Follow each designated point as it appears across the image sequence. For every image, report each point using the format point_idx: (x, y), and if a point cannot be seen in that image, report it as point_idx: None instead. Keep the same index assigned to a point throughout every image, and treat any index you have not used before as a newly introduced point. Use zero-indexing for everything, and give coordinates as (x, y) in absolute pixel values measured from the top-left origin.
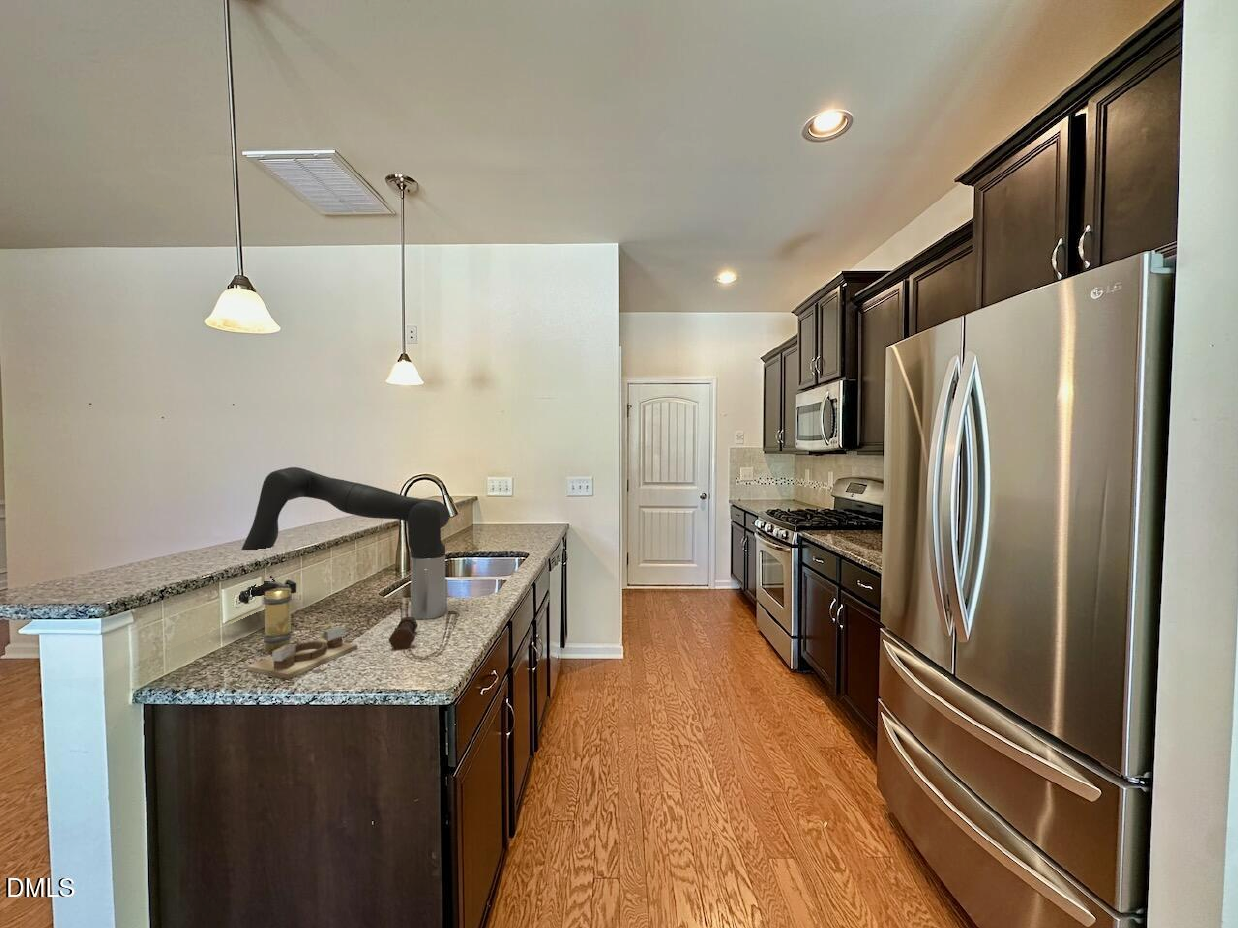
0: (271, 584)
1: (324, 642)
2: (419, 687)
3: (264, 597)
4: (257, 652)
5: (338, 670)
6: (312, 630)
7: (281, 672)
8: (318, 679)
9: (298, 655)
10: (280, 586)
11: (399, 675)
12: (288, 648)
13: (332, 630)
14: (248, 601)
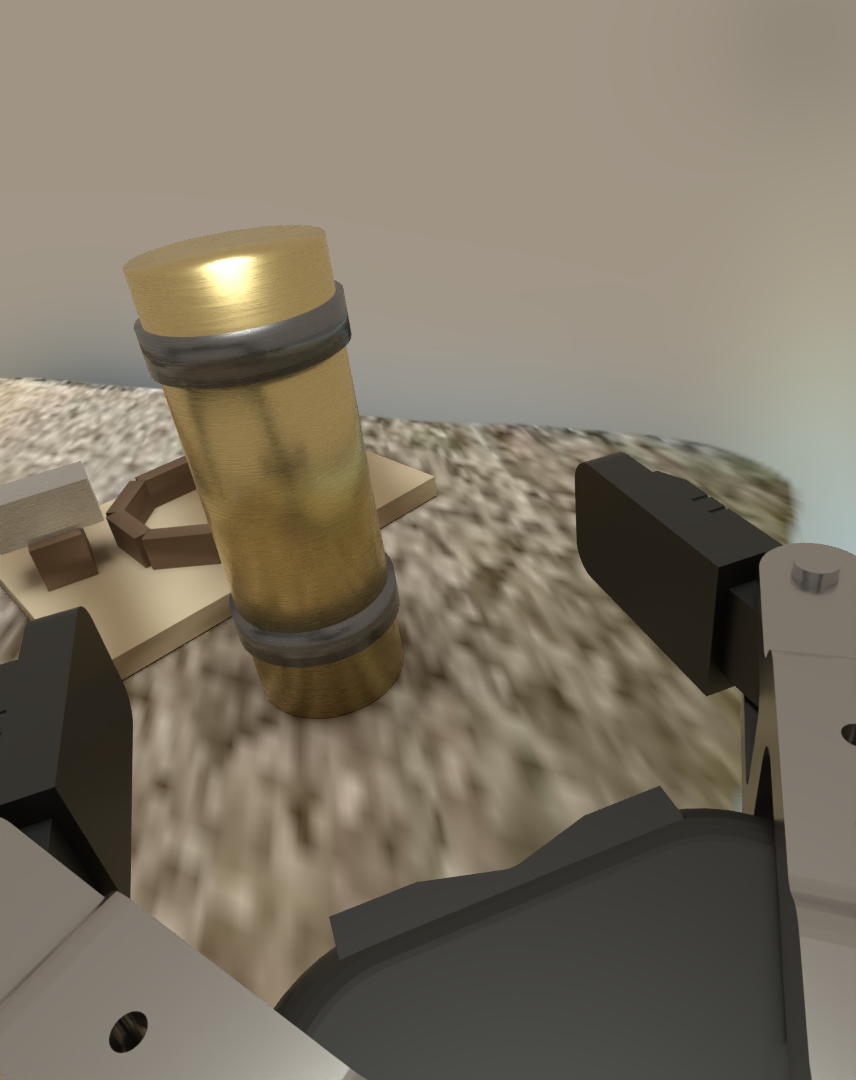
0: (293, 1032)
1: (110, 520)
2: (24, 385)
3: (341, 294)
4: (443, 648)
5: (142, 456)
6: None
7: None
8: None
9: None
10: (91, 889)
11: (20, 420)
12: None
13: (50, 475)
14: (577, 534)
